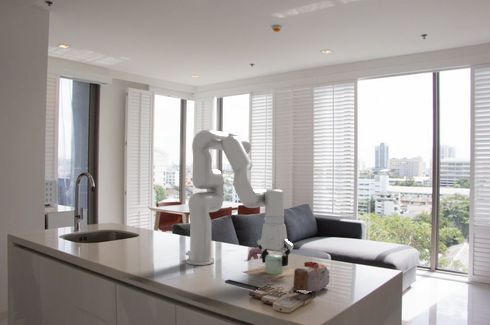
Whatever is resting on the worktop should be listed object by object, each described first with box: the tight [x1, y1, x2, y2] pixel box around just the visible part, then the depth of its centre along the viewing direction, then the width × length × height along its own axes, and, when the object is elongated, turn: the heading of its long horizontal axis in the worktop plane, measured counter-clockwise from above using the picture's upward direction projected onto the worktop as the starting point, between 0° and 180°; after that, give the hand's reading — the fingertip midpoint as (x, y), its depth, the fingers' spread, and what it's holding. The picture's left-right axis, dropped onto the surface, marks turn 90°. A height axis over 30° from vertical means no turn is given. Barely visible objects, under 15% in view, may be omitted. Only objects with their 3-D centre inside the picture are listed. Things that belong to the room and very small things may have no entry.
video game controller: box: [247, 246, 270, 262], centre depth 184 cm, size 10×5×7 cm, turn 75°
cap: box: [264, 254, 284, 274], centre depth 157 cm, size 7×7×6 cm
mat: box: [224, 279, 261, 291], centre depth 145 cm, size 14×10×1 cm
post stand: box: [242, 265, 295, 282], centre depth 157 cm, size 18×18×6 cm
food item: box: [292, 261, 331, 293], centre depth 139 cm, size 14×8×10 cm, turn 139°
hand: (274, 263), depth 157 cm, fingers open, 9 cm apart
